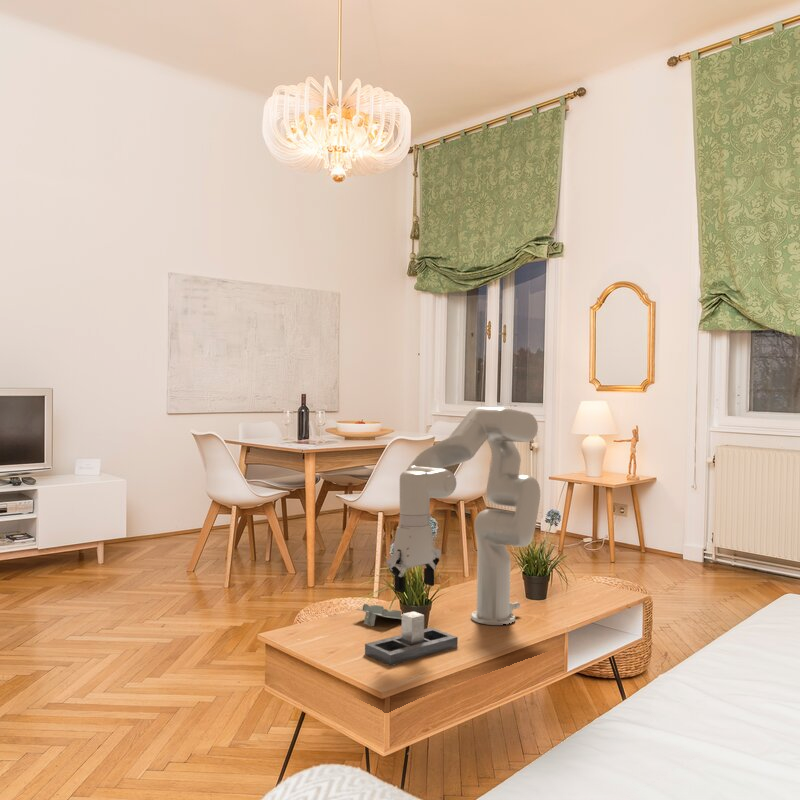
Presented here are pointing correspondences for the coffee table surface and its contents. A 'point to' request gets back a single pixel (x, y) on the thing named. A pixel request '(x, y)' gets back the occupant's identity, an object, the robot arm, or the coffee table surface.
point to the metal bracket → (378, 613)
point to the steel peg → (412, 628)
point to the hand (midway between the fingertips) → (414, 588)
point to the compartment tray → (410, 647)
